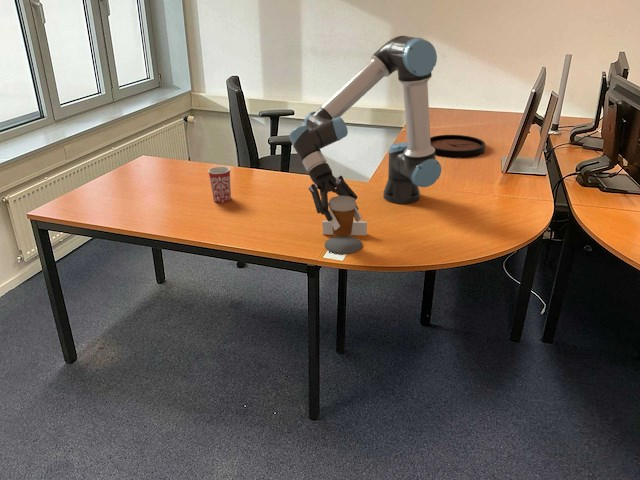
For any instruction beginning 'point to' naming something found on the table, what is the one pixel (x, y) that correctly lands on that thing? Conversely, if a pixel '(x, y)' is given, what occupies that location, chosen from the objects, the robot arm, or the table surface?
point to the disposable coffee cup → (343, 214)
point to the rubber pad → (343, 245)
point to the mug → (220, 183)
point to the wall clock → (457, 146)
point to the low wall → (357, 228)
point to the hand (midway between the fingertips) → (348, 224)
